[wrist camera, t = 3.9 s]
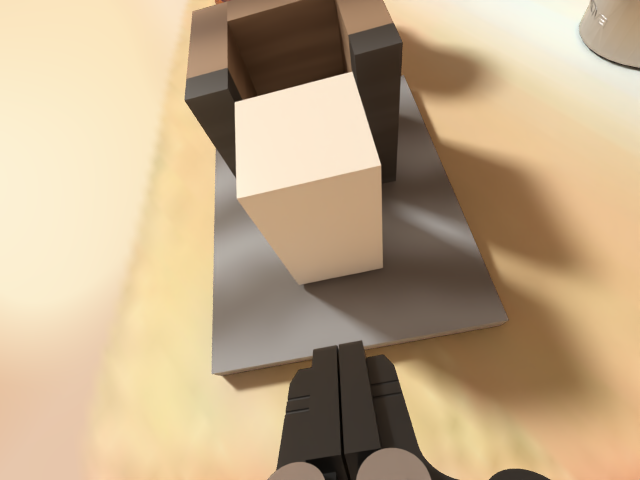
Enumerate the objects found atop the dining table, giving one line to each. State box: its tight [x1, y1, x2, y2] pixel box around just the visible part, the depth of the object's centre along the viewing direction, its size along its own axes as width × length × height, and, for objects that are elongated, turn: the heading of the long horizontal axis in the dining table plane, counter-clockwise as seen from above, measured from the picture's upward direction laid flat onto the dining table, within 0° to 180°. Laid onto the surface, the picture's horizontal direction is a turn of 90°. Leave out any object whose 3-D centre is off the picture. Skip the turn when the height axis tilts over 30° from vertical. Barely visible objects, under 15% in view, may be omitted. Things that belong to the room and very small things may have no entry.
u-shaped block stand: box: [185, 0, 509, 376], centre depth 18 cm, size 20×16×10 cm
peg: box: [235, 72, 383, 285], centre depth 16 cm, size 5×5×9 cm
